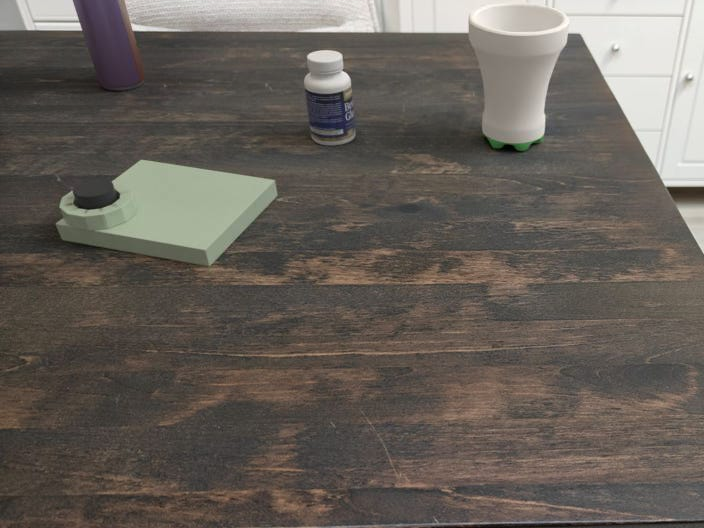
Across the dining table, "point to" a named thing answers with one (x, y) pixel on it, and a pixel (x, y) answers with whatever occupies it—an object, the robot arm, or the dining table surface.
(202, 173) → the scale
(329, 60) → the pill bottle
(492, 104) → the cup
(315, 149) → the dining table surface
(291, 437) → the dining table surface
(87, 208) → the button
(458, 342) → the dining table surface
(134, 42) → the purple tall cylinder
